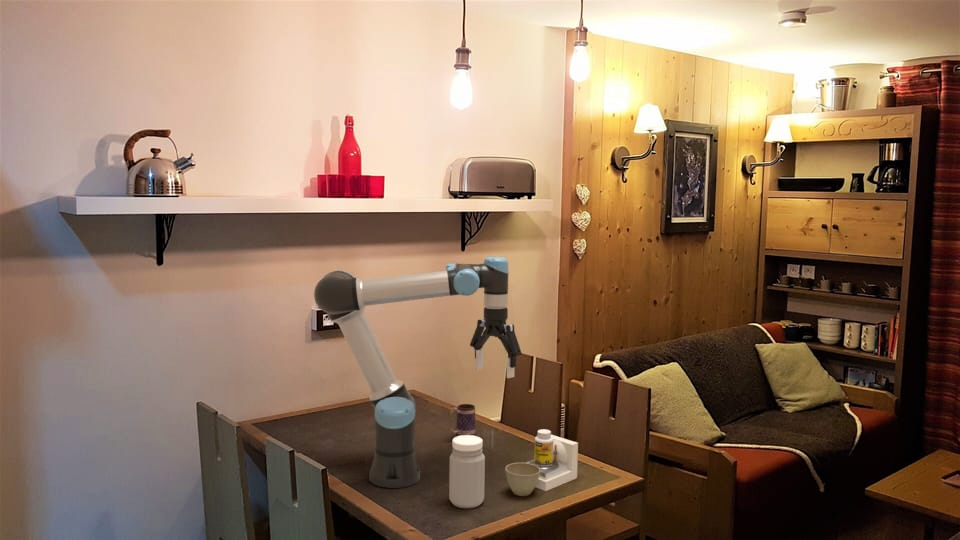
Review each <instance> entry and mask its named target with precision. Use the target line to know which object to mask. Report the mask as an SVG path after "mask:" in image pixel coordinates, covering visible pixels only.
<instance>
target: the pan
mask: <svg viewBox="0 0 960 540" xmlns="http://www.w3.org/2000/svg"><path fill="white" fill-rule="evenodd" d="M525 463H530V464H533V465H535V463H534V459H532V460H529V461H527V462H525ZM536 466H537V465H536ZM538 467H539V468H540V475H539V478H542V479H545V480H546V479H549V478H551V477H554V476H556V475H559V474H561V473H564V472H566V471H567V465H565V464H562V463H559V462H556V461H553V463H552V465H551V466H549V467H540V466H538Z"/></svg>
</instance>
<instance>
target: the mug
mask: <svg viewBox="0 0 960 540" xmlns="http://www.w3.org/2000/svg"><path fill="white" fill-rule="evenodd" d="M455 412H456V427H455V430H454V418H453V417H454V413H455ZM449 430H450V432H451V433H453V434H455V437H457V436H461V435H474V436H477V435H476V433H477V427H476V406H475V405H474V404H471V403H462V404H458V405H457V407H452V408H450V411H449Z"/></svg>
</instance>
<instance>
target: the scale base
mask: <svg viewBox="0 0 960 540" xmlns="http://www.w3.org/2000/svg"><path fill="white" fill-rule="evenodd" d="M551 437H552V438H553V461H556V462H559V463H562V464H565V465H567V471H566V472H564V473H561V474H559V475H556V476H554V477H551V478H549V479H546V480H545V479H542V478H538V481H537V484H536V486H535V489H539V490H541V491H544V492H547V491H550V490H552V489H554V488H557V487H559V486H562V485H564V484H566V483H569V482H571V481H574V480H576V479H578V462H579V461H578V459H579V457H578V456H579V455H578V454H579V442H577V441H573V440H570V439H567V438H564V437H563V438H562V437H560V436H557V435H554V434H551Z"/></svg>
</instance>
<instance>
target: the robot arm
mask: <svg viewBox="0 0 960 540" xmlns="http://www.w3.org/2000/svg"><path fill="white" fill-rule="evenodd" d="M509 275H510V274H509V261H508V259H507V258H506V257H501V256H500V257H499V256H494V257H493V256H489V257H485V258H484V261H483V263H457V262H456V263H447V265H446V267H445V270H442V271H441V270H439V271H433V272H423V273H413V274H408V275H407V274H406V275H397V276H396V275H395V276H388V277H387V276H386V277H380V278H371V279H361V278H359V277H355V276H353V275H352V274H351V273H349V272H347V271H344V270H333V271H331V272H328V273H326V274H325V275H324V276H323V277H322V278H321V279H320V280H319V281H318V283H317V284H316V286H315V287H314V293H313V295H314V296H313V298H314V301H315V303H316V305H317V307H318V308H319V309H320V310H321V311H323V312H324V313H326V314H327V315H328V317H329V320H330V321H331V322H332V323H336V324H337V325H338V326H339V328H340V330H341V333H342V334H343V336H344V337H343V338H344V339H345V340H346V343H347V345H348V347H349V348H350V351H351V353H352V355H353V357H354V359H355V360H356V363H357V364H358V367H359V369H360V371H361V373H362V375H363V378H364V379H365V381H366V383H367V385H368V387H369V390H370V391H371V393H370V396H369V400H370V403H371V405H372V407H373V409H374V416H373V417H374V423H375V424H374V427H375V429H374V430H375V432H374V433H375V434H374V443H375V444H374V451H375V452H374V457H373V460H372V465H371V468H370V470H369V473H368V474H369V477H368V481H369V482H370V481H371V482H372V483H373V485H374V484H375V485H374V486H376V485H377V486H376V487H380V486H381V488H385V487H386V488H387V489H388V488H389V489H398V488H399V489H401V488H405V487H406V488H407V487H410V486H412V485H415V484H417V483H418V482H419V481H420V479H421V469H420V466H419V463H418V460H417V457H416V454H415V420H416V413H417V406H416V401H415V398H414V397H413V396H412V394H411V393H410V392H409V391H408V389H407V386H406V385H405V383H404V381H402V380H399V379H397V377H396V376H395V373H394V371H393V369H392V367H391V365H390V363H389V361H388V359H387V357H386V355H385V354H384V351H383V349H382V347H381V345H380V342H379V340H378V339H377V336H376V335H375V333H374V331H373V328H372V325H371V324H370V322H369V320H368V318H367V316H366V314H365V312H364V311H365V307H366V306H367V307H368V306H377V305H384V304H393V303H394V304H395V303H400V302H401V303H402V302H408V301H409V302H410V301H417V300H425V299H433V298H441V297H451V296H453V297H454V296H463V297H469V296H472V295H474V294H475V293H476V292H477V291H478V290H479V289H483V306H484V307H483V319H482V318H480V319H478V320H477V322H476V328H475V330H474V332H473V336H472V338H471V341H470V343H469V346H470V347H472V348H473V349H474V359H475V371H481V370H484V358H485V357H484V356H485V355H484V353H485V352H484V351H485V350H484V345H485V344H486V342H487V341H488V340H489V338H490V337H494V338H497V339H499V340H500V343H501V344H502V345H503V348H504V350H505V351H506V354H507V356H506V379H511V378H515V368H516V366H517V357H520V356H522V350H521V348H520V344H519V341H518V337H517V336H516V335H517V334H516V332H515V325H514V324H507V320H508V316H509V311H508V310H509V309H508V303H509V301H508V300H509ZM371 482H370V483H371ZM372 483H371V484H372Z"/></svg>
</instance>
